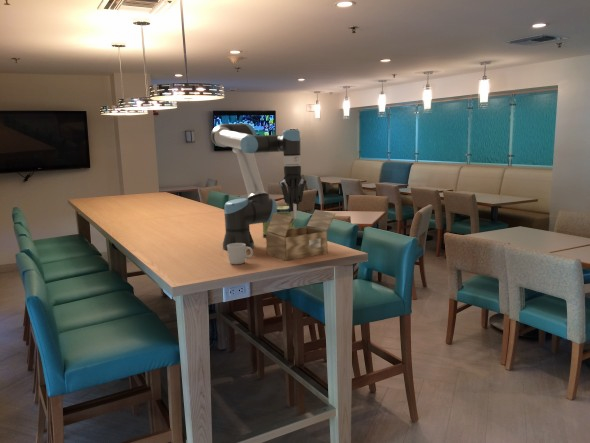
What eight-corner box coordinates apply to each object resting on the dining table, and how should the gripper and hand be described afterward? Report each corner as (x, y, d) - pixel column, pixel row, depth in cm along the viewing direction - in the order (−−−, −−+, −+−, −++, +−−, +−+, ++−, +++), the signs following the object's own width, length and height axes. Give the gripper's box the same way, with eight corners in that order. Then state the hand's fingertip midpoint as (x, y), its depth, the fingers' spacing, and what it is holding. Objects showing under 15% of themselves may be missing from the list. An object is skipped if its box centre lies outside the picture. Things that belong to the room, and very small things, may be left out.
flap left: (284, 236, 203) (291, 217, 204) (266, 230, 217) (273, 212, 218) (285, 236, 204) (292, 217, 204) (267, 231, 217) (274, 213, 218)
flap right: (326, 230, 214) (335, 213, 215) (306, 225, 228) (315, 209, 229) (326, 230, 214) (335, 213, 216) (307, 225, 228) (315, 209, 230)
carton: (285, 261, 204) (285, 238, 202) (266, 253, 220) (265, 231, 218) (328, 253, 215) (327, 231, 214) (306, 246, 231) (306, 226, 229)
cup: (253, 260, 207) (253, 242, 206) (252, 264, 200) (251, 246, 198) (228, 261, 207) (227, 243, 206) (226, 265, 199) (225, 247, 198)
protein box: (291, 237, 253) (290, 208, 251) (262, 237, 257) (261, 208, 254) (295, 234, 264) (294, 206, 261) (267, 233, 267) (266, 206, 264)
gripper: (283, 166, 204) (285, 220, 208) (309, 164, 210) (310, 217, 214) (275, 165, 210) (277, 218, 214) (300, 164, 217) (301, 215, 221)
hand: (293, 218), depth 214 cm, fingers closed
